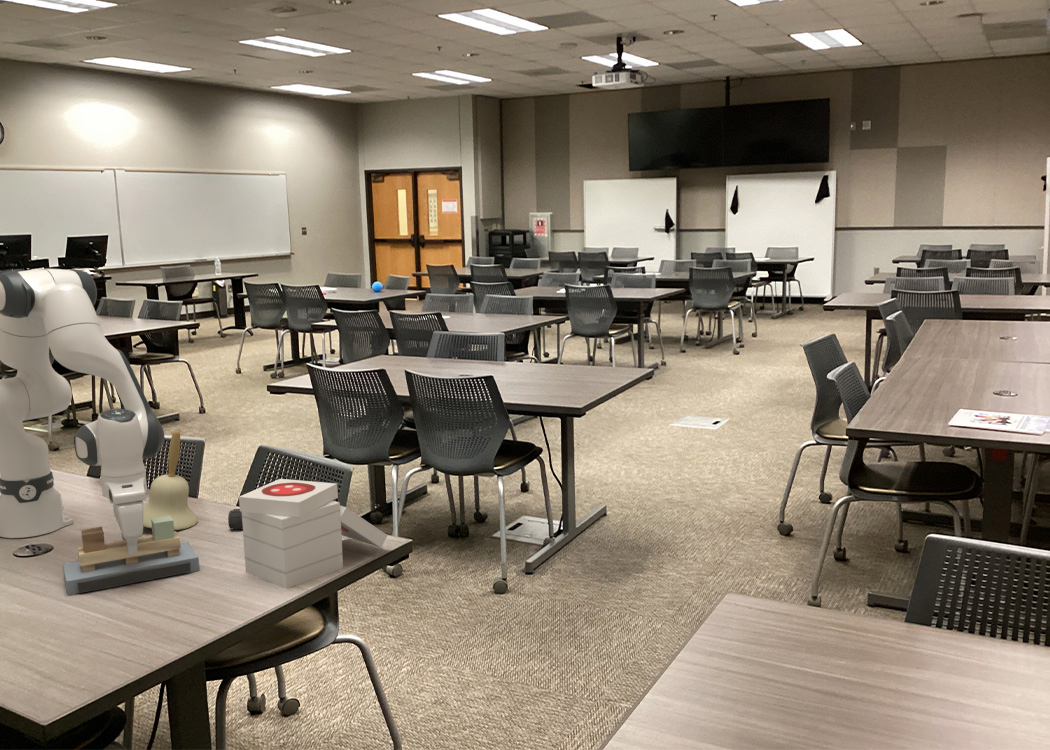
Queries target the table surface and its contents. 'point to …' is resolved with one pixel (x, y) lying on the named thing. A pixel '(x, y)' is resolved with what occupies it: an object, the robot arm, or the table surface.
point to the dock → (129, 570)
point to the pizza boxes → (298, 531)
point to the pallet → (120, 551)
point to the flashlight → (235, 519)
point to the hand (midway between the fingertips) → (129, 546)
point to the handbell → (170, 494)
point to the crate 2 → (162, 528)
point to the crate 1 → (93, 539)
